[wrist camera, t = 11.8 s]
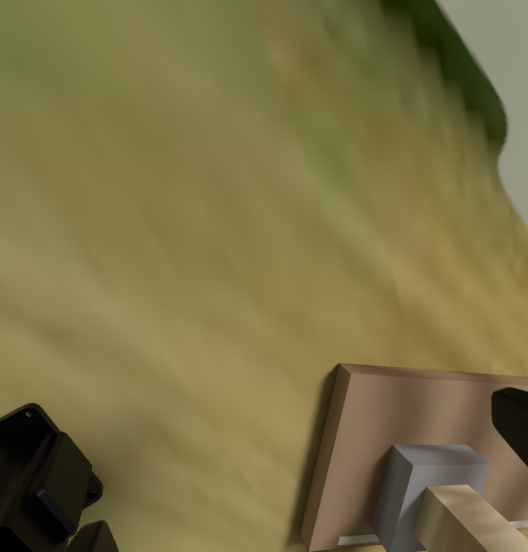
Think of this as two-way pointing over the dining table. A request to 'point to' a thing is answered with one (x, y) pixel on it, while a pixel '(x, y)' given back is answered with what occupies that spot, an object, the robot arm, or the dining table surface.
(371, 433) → the plank
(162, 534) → the dining table surface
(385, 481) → the wooden post with base
